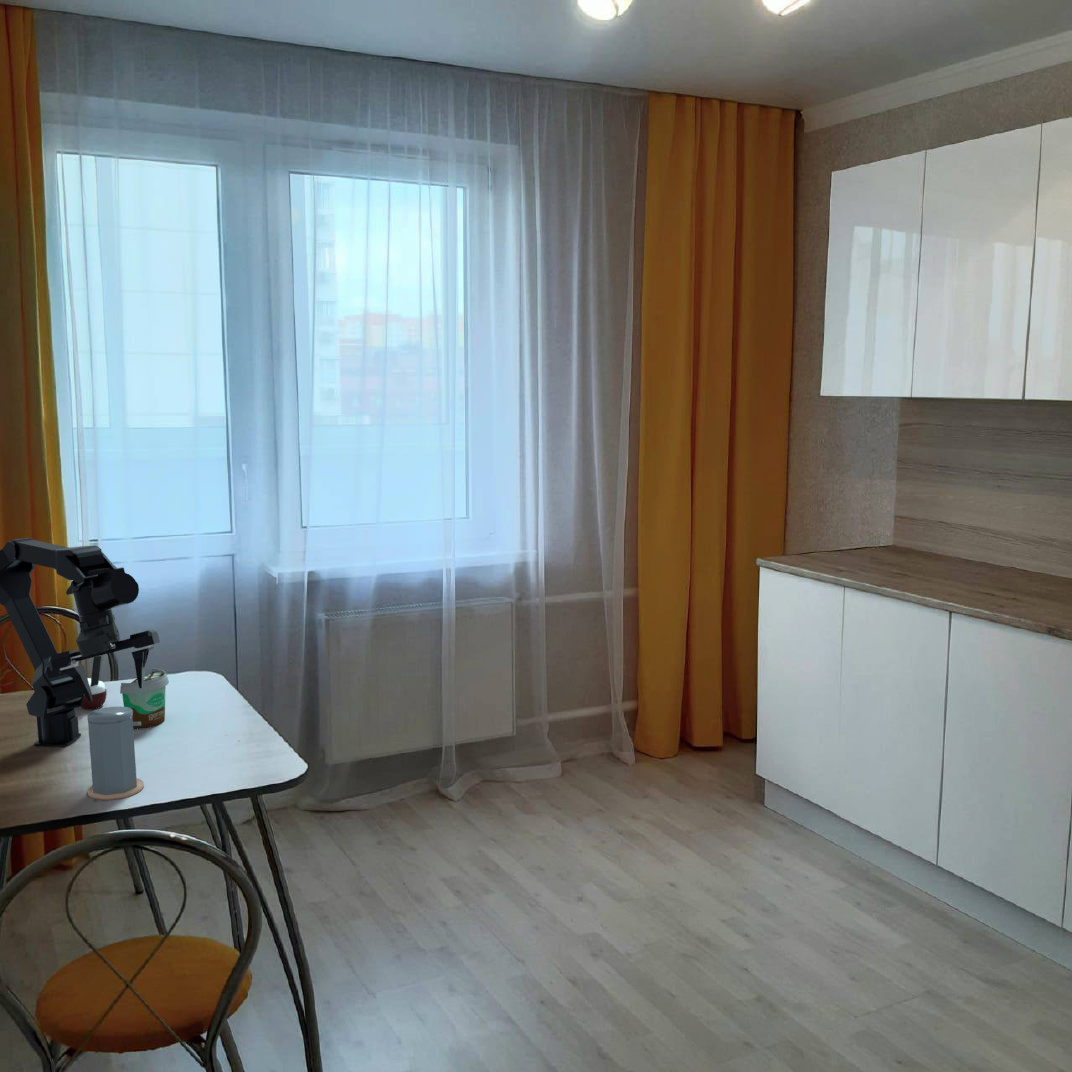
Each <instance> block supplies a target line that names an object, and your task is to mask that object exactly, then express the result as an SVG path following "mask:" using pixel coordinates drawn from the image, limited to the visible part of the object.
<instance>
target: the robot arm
mask: <svg viewBox="0 0 1072 1072" xmlns="http://www.w3.org/2000/svg"><path fill="white" fill-rule="evenodd" d="M37 565H38V566H42V567H47V568H50V569H53V570H55V572H56V574H57V575H58V576H59V577H61V578H64V579H66V580H67V581H71V582H70V584H69V586H68V588H67V589H66V592H65V594H66V595H67V596H70V595H73V599H74V601H75V602H74V603H75V605H76V609H77V613H78V617H79V630H80V631H79V634H78V636H77V638H76V640H75V642H76V645H77V647H78V649H77V648H75V649H70V650H66V651H62V652H58V651H57V649H56V646H55V644H54V642H53V640H52V639H51V638H52V637H51V636H50V634H49V632H48V630H47V628H46V626H45V624H44V622H43V620H42V618H41V616H40V614H39V611H38V610H37V608H36V605H35V604H34V601H33V599H32V597H31V595H30V593H31V589H32V585H33V584H32V583H33V579H32V576H31V574H32V573H33V571H34V570H35V568H36V566H37ZM139 590H140V588H139V583H138V582H137V581H136V579H135V578H134V577H133V576H132V575H131V574H129V573H126V571H125V567H124V566H120V567H117V566H116V565H115V564H114V563H113V562H112V561H111V560H110V559H109V558H108V556H107V555H106V554H105V553H104V552H103V551H102V549H101V547H100V546H98V545H80V546H70V547H69V546H64V545H60V544H59V545H58V544H54V543H50V542H46V541H41V540H37V539H34V538H32V537H24V538H17V539H11V540H9V541H7V542H6V543H5V544H4V546H3V547H2V548H1V549H0V605H1V606H3V607H4V608H5V610H6V611H5V612H6V613H7V615H8V617H9V619H10V621H11V623H12V626H13V627H14V629H15V631H16V633H17V636H18V638H19V639H20V640H19V641H20V642H21V644H22V646H23V649H24V650H25V652H26V655H27V657H28V659H29V662H31V666H32V667H33V669H34V673H33V678H32V685H31V686H32V689H33V691H34V692H33V694H31V697H30V698H29V699H28V701H27V702H26V704H25V705H26V708H27V712H28V715H29V716H33V717H36V726H37V727H36V728H37V729H36V730H37V739H38V740H37V741H35V742H34V743H33V746H36V747H66V746H68V745H70V744H71V743H73V742H74V741H76V740H77V739H79V738H80V737H81V736H82V733H80V730H79V729H80V728H79V717H78V716H77V715H76V709H77V708H81V707H82V702H83V697H84V695H85V696H86V698H87V699H88V701H89V702H91V701H93V699H92V692H91V689H90V686H89V682H88V679H87V678H88V677H87V673H86V669H85V666H84V664H79V662H80V661H83V660H87V659H92V658H94V657H97V656H104V655H107V654H112V653H114V652H119V651H122V650H123V651H124V650H128V649H131V648H133V649H134V651H131V655H132V658H133V661H134V667H135V674H136V679H137V681H138V685H139V688H143V683H144V676H146V675H145V674H146V666H147V661H148V658H149V654H150V651H151V650H154V649H155V647H154V646H153V645H157V644H159V643H161V640H160V637H159V634H158V632H157V631H156V630H155V629H153V628H152V629H150V630H148V629H147V630H146V631H145V630H144V631H141V632H136V633H133V634H129V638H126V639H122V640H121V638H120V632H119V629H118V627H117V625H116V622H115V620H116V617H115V614H113V610H112V609H114V608H118V607H122V606H125V605H129V604H131V603H134V601H136V599H137V598H138V596H139V593H140V591H139ZM110 645H113V646H111V647H110ZM78 650H79V651H78Z"/></svg>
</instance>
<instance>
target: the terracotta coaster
mask: <svg viewBox="0 0 1072 1072" xmlns="http://www.w3.org/2000/svg"><path fill="white" fill-rule="evenodd" d="M136 779H137V787H136V788H133V789H131V790H129V791H127V792H125V793H119V794H112V795H102V794H96V793H93V784H91V786H90V787H88V789H87V796H88V797H90V798H91V799H94V800H101V801H111V800H113V801H114V800H118V799H123V798H128V797H131V796H134V795H136V794H138V793H140V792H141V791H142V790H143V789H144V788H145V786H144V785H145V782H144V781H143V779H140V778H137V777H136Z"/></svg>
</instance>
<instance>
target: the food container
mask: <svg viewBox="0 0 1072 1072" xmlns="http://www.w3.org/2000/svg"><path fill="white" fill-rule="evenodd" d="M169 683H170V681H169V677H168V675H167V673H166V671H165V670H163V669H161V668H154V667H151V672H150V673H148V674H146V675H144V683H143V688H139V685H138V681H137V678H135V679H134V680H133V681H131V682H120V689H119V693H120V695H121V696H122V700H123V701H122V702H123V707H128V708H131V709H132V710H133V716H132V718H133V731H135V730H144V729H150V728H153V727H158V726H159V725H162V724H163V723H165V720H166V686H168V685H169Z"/></svg>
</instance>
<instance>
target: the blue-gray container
mask: <svg viewBox="0 0 1072 1072" xmlns="http://www.w3.org/2000/svg"><path fill="white" fill-rule="evenodd" d="M132 716H133V710H132V709H131V708H128V707H124V706H108V707H107V706H106V707H102V708H101V707H100V708H96V709H93V710H92V711H90V712H89V713H87V715H86V718H87V719H86V720H87V726H88V727H87V729H88V738H89V742H88V743H89V753H90V754H89V755H90V756H89V757H90V767H91V770H90V771H91V782H92V783H91V785H93V793H96V794H102V795H112V794H119V793H125V792H127V791H129V790H131V789H133V788H136V787H137V779H138V778H137V768H136V767H137V764H136V752H135V751H136V750H135V738H134V737H135V734H134V730H133V718H132ZM136 778H137V779H136Z"/></svg>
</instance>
